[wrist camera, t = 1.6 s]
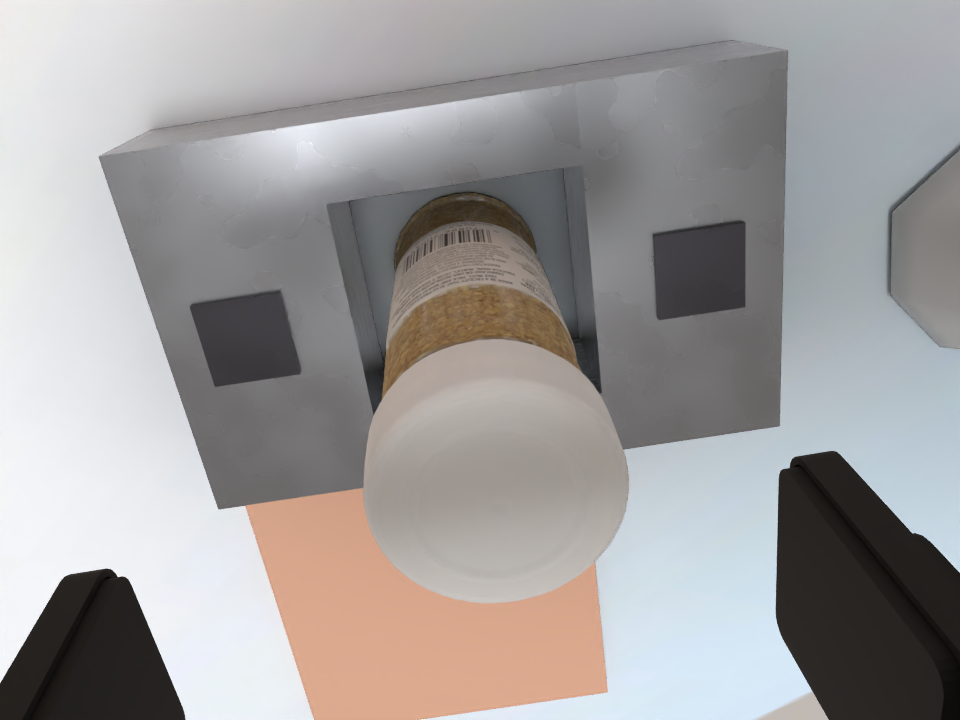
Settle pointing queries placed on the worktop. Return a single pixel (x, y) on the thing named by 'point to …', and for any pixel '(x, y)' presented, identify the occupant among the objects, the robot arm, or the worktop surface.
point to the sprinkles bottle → (486, 417)
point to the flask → (930, 255)
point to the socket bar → (448, 161)
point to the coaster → (413, 625)
